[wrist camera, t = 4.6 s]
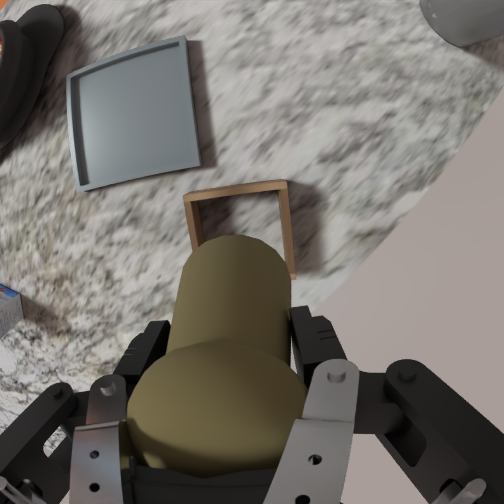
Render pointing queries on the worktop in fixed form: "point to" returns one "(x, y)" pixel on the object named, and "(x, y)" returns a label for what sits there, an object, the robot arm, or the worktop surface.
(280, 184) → the holder
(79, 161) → the tray
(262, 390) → the cork
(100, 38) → the worktop surface
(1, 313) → the medicine box
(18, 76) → the casserole
